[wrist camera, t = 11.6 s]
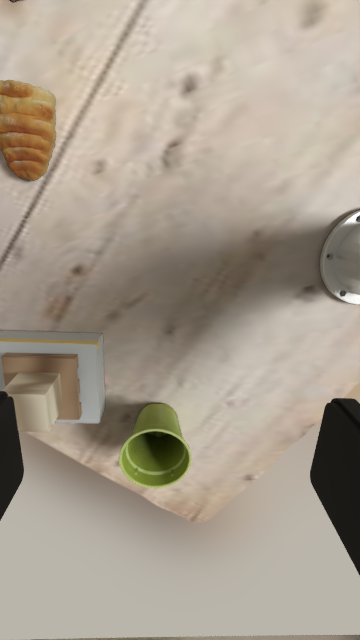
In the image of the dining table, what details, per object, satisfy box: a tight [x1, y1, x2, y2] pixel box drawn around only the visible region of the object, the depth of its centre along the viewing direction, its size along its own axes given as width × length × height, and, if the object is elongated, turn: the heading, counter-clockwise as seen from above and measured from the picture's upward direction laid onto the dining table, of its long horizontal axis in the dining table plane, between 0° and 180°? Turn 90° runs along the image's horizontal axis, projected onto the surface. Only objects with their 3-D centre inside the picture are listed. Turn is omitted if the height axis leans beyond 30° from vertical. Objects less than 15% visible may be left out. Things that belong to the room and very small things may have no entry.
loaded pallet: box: [1, 352, 82, 432], centre depth 38 cm, size 9×9×6 cm
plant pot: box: [119, 403, 191, 488], centre depth 45 cm, size 9×9×9 cm
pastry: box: [0, 80, 56, 181], centre depth 34 cm, size 9×7×4 cm
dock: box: [0, 330, 105, 423], centre depth 43 cm, size 14×12×4 cm
